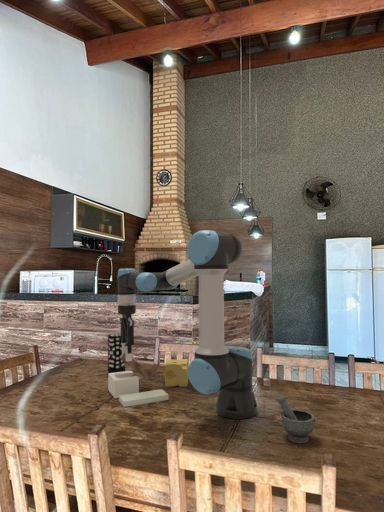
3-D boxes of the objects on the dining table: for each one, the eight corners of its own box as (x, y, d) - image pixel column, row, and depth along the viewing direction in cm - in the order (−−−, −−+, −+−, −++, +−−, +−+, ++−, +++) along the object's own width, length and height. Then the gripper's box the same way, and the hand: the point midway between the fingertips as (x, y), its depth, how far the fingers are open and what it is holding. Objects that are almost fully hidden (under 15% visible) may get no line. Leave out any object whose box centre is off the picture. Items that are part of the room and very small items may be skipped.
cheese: (188, 387, 161) (187, 364, 161) (163, 387, 161) (163, 364, 161) (188, 380, 171) (188, 358, 171) (165, 380, 171) (165, 358, 172)
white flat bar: (168, 399, 145) (168, 394, 145) (123, 407, 137) (123, 401, 137) (161, 394, 152) (161, 389, 152) (119, 400, 144) (119, 395, 144)
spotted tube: (107, 374, 180) (107, 334, 181) (124, 373, 183) (124, 333, 184) (108, 379, 172) (108, 336, 173) (126, 377, 175) (126, 335, 176)
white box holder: (130, 386, 162) (130, 370, 162) (138, 394, 151) (138, 377, 151) (108, 389, 157) (108, 373, 158) (114, 398, 147) (114, 380, 147)
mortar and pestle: (317, 435, 113) (317, 396, 113) (312, 448, 104) (311, 406, 105) (281, 428, 118) (281, 390, 119) (273, 440, 110) (272, 399, 110)
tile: (144, 376, 160) (148, 370, 161) (148, 379, 156) (152, 373, 157) (120, 358, 156) (124, 352, 157) (123, 361, 152) (127, 355, 153)
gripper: (141, 305, 150) (142, 363, 148) (129, 302, 166) (130, 354, 165) (123, 306, 146) (123, 365, 145) (113, 303, 163) (113, 356, 162)
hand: (127, 359), depth 155 cm, fingers closed on tile, 5 cm apart
